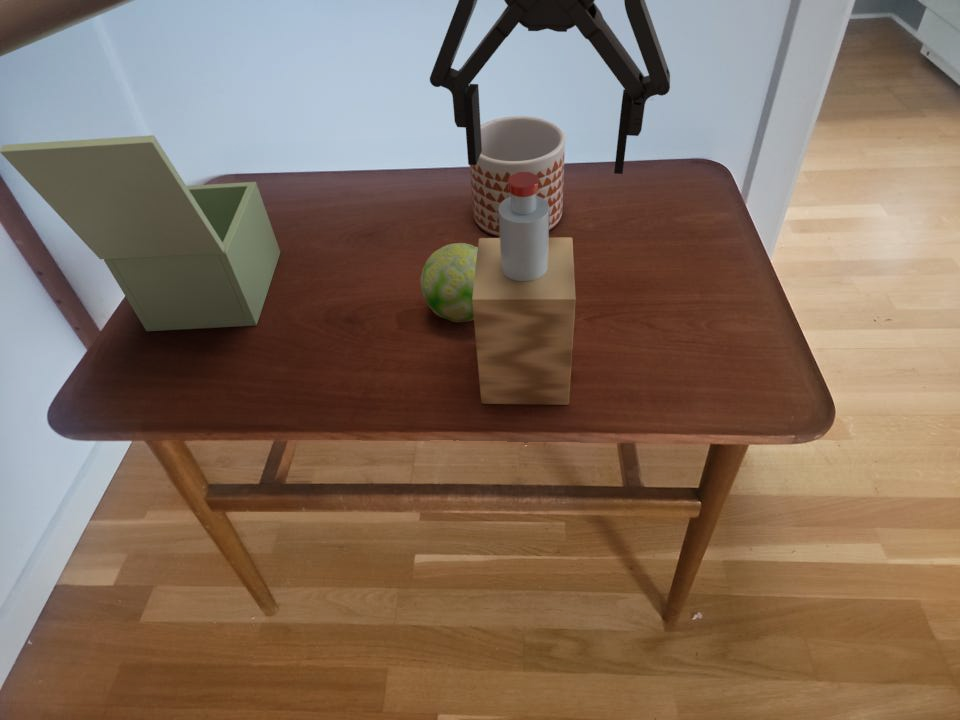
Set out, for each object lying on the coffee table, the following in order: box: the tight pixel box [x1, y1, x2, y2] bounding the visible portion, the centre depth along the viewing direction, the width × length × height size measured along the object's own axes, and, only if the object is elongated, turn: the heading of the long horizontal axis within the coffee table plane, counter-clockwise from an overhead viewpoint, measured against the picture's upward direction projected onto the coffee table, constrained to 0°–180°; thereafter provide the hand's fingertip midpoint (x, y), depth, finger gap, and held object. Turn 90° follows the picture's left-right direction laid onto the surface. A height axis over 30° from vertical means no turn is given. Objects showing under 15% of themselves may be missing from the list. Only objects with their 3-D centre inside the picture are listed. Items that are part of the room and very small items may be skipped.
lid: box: [0, 134, 225, 260], centre depth 70 cm, size 17×15×1 cm
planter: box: [469, 115, 566, 238], centre depth 95 cm, size 14×14×13 cm
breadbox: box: [103, 181, 281, 332], centre depth 87 cm, size 16×15×12 cm
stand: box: [472, 236, 577, 406], centre depth 71 cm, size 10×10×16 cm
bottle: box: [498, 172, 550, 282], centre depth 62 cm, size 5×5×10 cm
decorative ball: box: [419, 242, 478, 323], centre depth 82 cm, size 10×10×10 cm
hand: (545, 162), depth 61 cm, fingers open, 13 cm apart
